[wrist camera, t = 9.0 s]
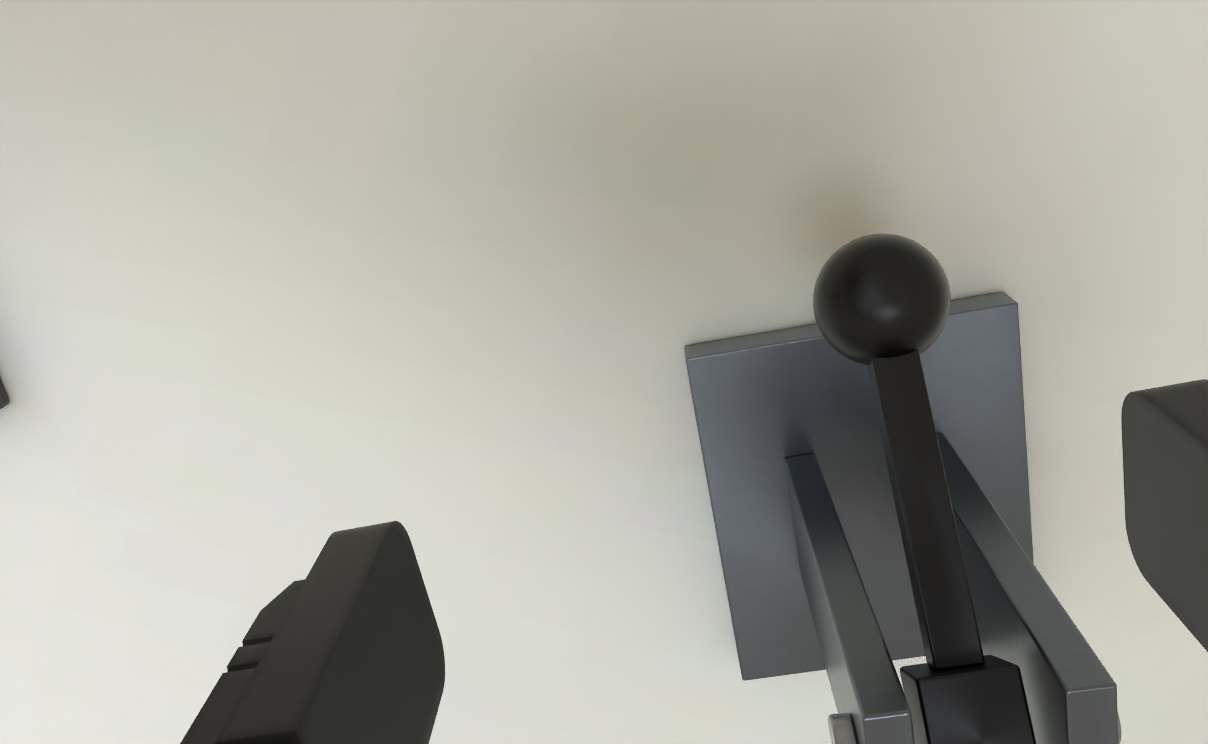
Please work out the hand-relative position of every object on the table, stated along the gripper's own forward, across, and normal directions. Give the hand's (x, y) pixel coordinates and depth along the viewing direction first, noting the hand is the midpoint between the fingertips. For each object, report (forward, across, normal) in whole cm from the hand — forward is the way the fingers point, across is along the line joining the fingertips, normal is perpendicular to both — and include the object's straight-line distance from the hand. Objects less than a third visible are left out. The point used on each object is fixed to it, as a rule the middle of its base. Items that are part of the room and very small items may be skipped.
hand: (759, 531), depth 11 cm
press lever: (+13, -4, +7) cm, 15 cm away
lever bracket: (+20, -4, +11) cm, 24 cm away
